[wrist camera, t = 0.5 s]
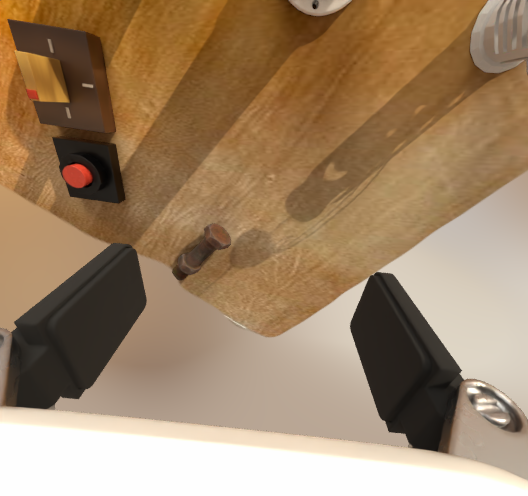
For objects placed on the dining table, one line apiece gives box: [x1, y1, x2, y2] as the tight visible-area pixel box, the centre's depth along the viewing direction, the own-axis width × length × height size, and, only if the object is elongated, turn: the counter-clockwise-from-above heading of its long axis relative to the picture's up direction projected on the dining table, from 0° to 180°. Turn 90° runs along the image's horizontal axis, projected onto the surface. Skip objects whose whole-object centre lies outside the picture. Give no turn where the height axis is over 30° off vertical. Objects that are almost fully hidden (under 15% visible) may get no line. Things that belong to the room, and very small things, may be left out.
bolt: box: [172, 224, 231, 280], centre depth 48 cm, size 6×5×15 cm
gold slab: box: [15, 51, 70, 103], centre depth 31 cm, size 5×1×5 cm, turn 172°
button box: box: [52, 136, 125, 203], centre depth 41 cm, size 10×9×4 cm
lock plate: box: [7, 19, 116, 133], centre depth 34 cm, size 12×10×3 cm
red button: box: [63, 164, 93, 188], centre depth 39 cm, size 4×4×2 cm
